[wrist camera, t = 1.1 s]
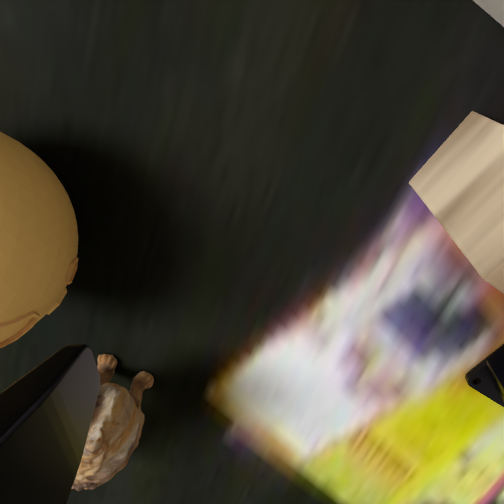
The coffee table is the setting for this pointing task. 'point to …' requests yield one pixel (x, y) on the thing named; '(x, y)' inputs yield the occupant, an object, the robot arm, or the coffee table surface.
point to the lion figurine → (112, 426)
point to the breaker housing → (493, 9)
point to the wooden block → (470, 193)
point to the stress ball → (32, 240)
